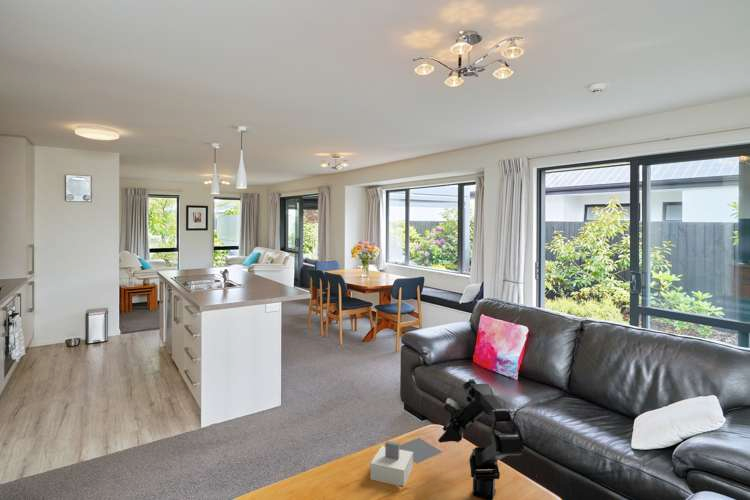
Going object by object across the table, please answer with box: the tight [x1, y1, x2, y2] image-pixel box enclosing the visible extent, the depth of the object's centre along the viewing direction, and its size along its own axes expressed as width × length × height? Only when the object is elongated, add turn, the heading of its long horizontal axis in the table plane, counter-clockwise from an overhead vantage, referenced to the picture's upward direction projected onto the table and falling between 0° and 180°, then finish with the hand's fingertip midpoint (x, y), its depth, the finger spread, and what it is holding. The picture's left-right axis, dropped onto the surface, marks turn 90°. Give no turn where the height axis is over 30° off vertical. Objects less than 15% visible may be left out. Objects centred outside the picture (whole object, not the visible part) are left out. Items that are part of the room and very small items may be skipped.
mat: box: [400, 437, 443, 464], centre depth 165 cm, size 14×14×1 cm
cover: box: [369, 440, 414, 487], centre depth 150 cm, size 13×13×11 cm
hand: (441, 435), depth 151 cm, fingers open, 9 cm apart
